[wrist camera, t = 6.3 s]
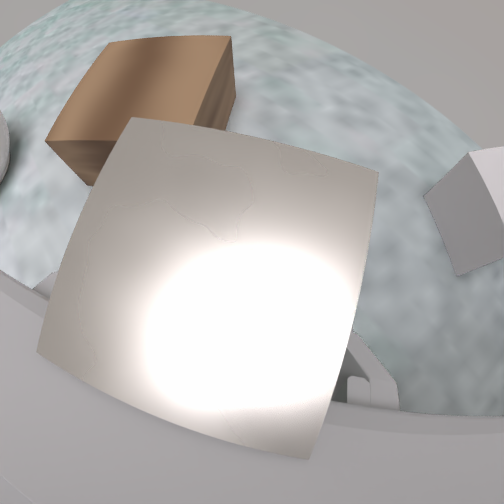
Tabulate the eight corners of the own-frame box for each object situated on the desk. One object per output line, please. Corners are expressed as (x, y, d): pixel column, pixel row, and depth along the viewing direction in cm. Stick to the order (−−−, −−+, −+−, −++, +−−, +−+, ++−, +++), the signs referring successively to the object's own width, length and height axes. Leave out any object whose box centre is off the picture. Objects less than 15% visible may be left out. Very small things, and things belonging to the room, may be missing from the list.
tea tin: (295, 286, 17) (378, 172, 5) (270, 370, 15) (308, 460, 4) (212, 262, 17) (131, 117, 5) (186, 343, 16) (36, 352, 4)
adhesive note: (422, 197, 18) (467, 151, 12) (471, 182, 19) (514, 143, 13) (455, 277, 17) (514, 252, 11) (502, 251, 17) (553, 225, 11)
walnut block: (236, 97, 21) (231, 36, 15) (205, 200, 18) (185, 144, 13) (132, 94, 21) (109, 42, 15) (88, 186, 19) (44, 141, 13)
